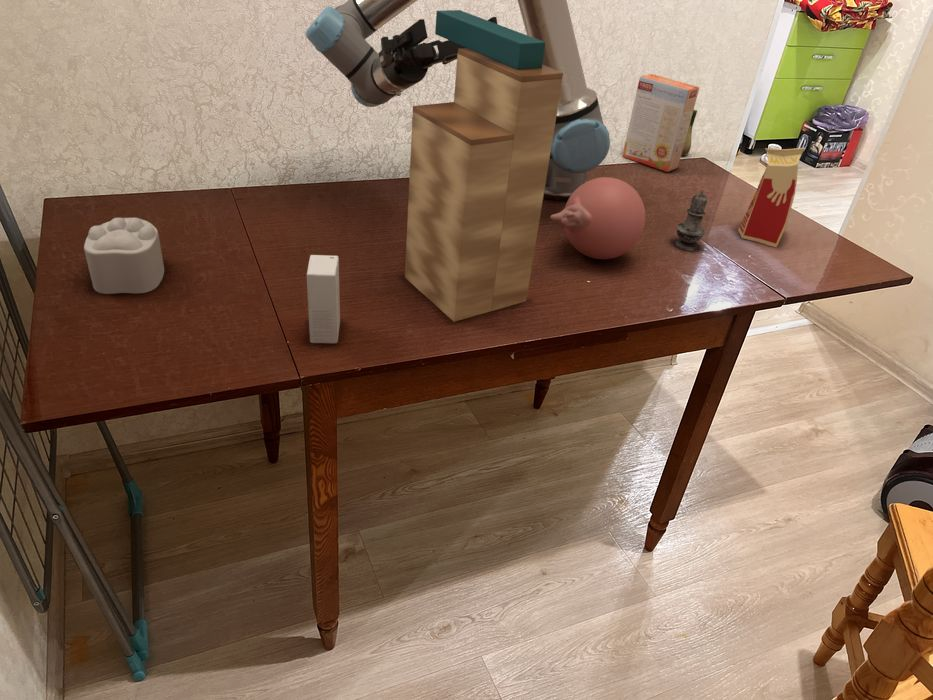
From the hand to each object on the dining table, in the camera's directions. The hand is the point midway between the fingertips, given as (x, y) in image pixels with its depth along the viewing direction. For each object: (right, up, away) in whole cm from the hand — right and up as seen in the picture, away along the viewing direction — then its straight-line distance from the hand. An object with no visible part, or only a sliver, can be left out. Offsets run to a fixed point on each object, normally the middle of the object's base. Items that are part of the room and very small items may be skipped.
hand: (461, 26), depth 111 cm
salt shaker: (+46, -29, +36) cm, 66 cm away
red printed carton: (+65, -26, +44) cm, 82 cm away
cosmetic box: (-21, -48, -2) cm, 53 cm away
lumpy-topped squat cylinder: (-55, -38, +7) cm, 67 cm away
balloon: (+24, -32, +28) cm, 49 cm away
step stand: (+1, -40, +13) cm, 42 cm away
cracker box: (+49, -2, +76) cm, 90 cm away
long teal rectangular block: (+4, -5, -3) cm, 7 cm away
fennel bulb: (+59, +3, +84) cm, 102 cm away
